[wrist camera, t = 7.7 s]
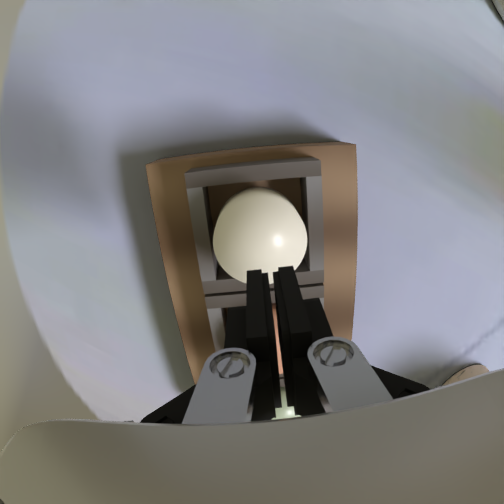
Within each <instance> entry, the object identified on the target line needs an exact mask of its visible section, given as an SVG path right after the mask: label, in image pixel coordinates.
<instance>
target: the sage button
mask: <svg viewBox="0 0 504 504" xmlns="http://www.w3.org/2000/svg"><path fill="white" fill-rule="evenodd" d="M280 390H281V401H282V408H275V410H276V418H273V419H271V420H275V419H284V418H293V417H301V416H300V415H296V416H295V412H294V406H292V407H287V400H286V392H285V387H280Z"/></svg>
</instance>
